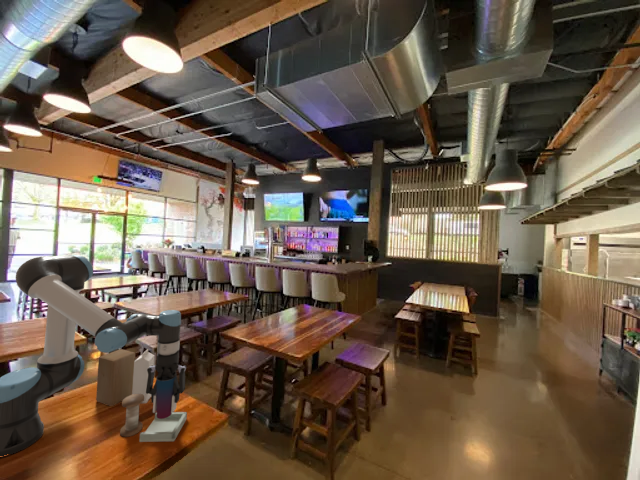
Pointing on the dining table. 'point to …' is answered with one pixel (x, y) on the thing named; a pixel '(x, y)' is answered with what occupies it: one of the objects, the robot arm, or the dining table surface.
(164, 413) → the cup
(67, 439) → the dining table surface
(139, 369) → the milk
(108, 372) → the wooden block
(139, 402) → the doorknob
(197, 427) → the dining table surface
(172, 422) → the square tray
